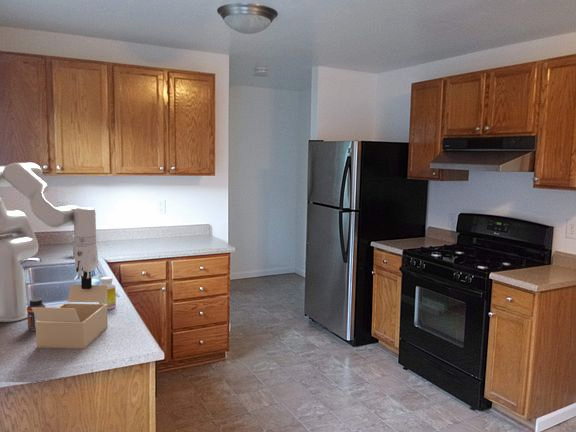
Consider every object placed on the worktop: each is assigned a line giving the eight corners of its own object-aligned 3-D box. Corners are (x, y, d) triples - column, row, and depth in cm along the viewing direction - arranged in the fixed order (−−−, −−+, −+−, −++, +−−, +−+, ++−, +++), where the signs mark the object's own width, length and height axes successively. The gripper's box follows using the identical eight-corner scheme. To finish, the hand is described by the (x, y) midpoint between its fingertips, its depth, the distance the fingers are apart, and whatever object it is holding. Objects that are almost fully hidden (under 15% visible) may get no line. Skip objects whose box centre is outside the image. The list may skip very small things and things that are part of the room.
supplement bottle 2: (118, 304, 203) (117, 275, 202) (113, 309, 197) (112, 280, 195) (102, 304, 203) (101, 275, 201) (96, 309, 196) (95, 279, 195)
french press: (76, 259, 289) (74, 218, 286) (66, 256, 296) (65, 217, 293) (91, 256, 297) (90, 217, 294) (81, 254, 304) (80, 215, 301)
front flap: (38, 319, 156) (38, 320, 156) (31, 307, 152) (31, 308, 152) (79, 320, 156) (79, 321, 156) (74, 308, 152) (74, 309, 151)
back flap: (70, 284, 179) (71, 285, 179) (67, 301, 176) (67, 301, 176) (107, 285, 179) (107, 285, 179) (103, 302, 176) (104, 302, 176)
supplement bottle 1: (25, 329, 174) (23, 299, 172) (41, 324, 178) (40, 295, 177) (32, 333, 170) (30, 302, 169) (49, 328, 175) (47, 299, 173)
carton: (36, 347, 157) (35, 322, 156) (65, 326, 177) (64, 303, 176) (84, 348, 157) (83, 322, 156) (107, 327, 177) (106, 304, 176)
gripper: (86, 244, 167) (88, 294, 170) (103, 237, 182) (104, 283, 184) (65, 244, 167) (67, 294, 170) (84, 236, 182) (85, 282, 185)
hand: (86, 288), depth 177 cm, fingers closed
